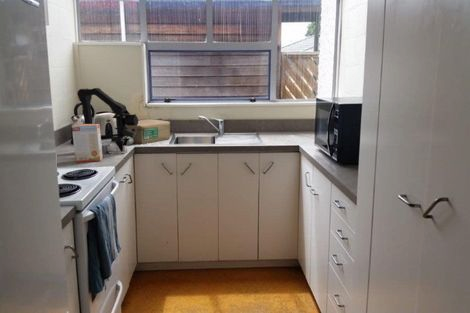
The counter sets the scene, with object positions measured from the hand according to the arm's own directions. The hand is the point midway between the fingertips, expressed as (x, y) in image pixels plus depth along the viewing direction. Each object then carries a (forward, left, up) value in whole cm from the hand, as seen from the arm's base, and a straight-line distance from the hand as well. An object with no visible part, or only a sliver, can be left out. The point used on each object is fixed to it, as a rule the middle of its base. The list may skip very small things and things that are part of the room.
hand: (123, 150), depth 257 cm
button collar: (-9, +13, -2) cm, 16 cm away
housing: (-13, 0, -2) cm, 13 cm away
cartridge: (-4, 0, -1) cm, 5 cm away
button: (-9, +13, -1) cm, 16 cm away
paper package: (-3, +47, -2) cm, 47 cm away
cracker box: (-11, -22, -2) cm, 24 cm away
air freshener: (-11, +28, -2) cm, 30 cm away
